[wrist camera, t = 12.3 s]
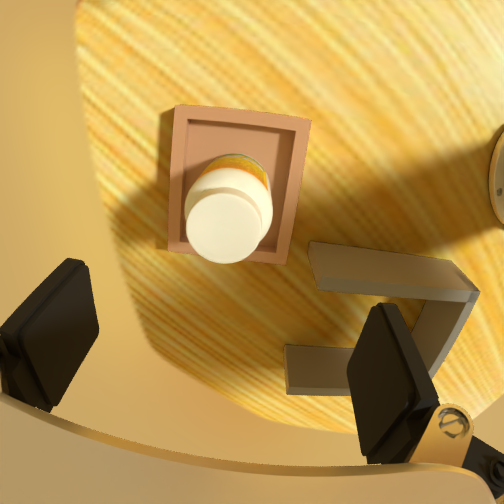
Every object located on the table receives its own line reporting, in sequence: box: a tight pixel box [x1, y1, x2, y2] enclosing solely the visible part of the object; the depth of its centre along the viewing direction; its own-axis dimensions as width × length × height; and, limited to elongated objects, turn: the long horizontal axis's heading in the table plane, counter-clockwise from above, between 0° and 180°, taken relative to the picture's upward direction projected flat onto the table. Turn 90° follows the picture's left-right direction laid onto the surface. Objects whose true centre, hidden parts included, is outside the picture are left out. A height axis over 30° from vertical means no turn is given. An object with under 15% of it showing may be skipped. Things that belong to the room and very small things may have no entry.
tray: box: [168, 105, 312, 265], centre depth 25 cm, size 12×10×2 cm
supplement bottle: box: [185, 153, 273, 264], centre depth 21 cm, size 5×5×10 cm
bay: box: [283, 241, 480, 396], centre depth 29 cm, size 13×16×6 cm
